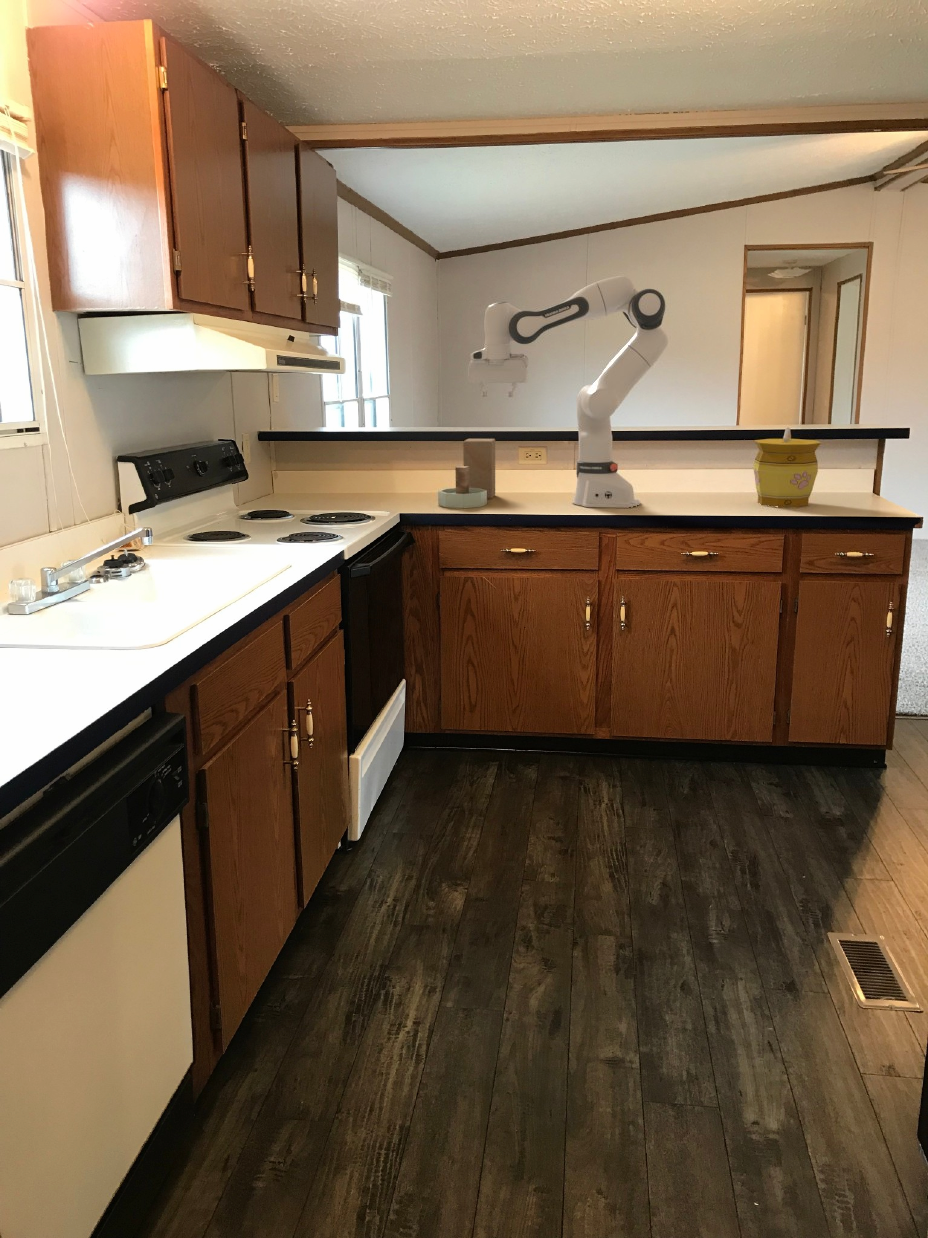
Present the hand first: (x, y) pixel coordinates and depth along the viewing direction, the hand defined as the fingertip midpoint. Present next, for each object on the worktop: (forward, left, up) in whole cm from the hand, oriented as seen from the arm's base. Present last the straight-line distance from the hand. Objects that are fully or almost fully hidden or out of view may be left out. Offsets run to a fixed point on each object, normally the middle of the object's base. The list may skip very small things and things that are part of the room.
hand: (497, 396), depth 329 cm
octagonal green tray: (+10, +8, -35) cm, 37 cm away
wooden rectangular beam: (+10, +8, -34) cm, 37 cm away
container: (-92, -22, -35) cm, 101 cm away
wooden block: (+10, -10, -35) cm, 38 cm away
